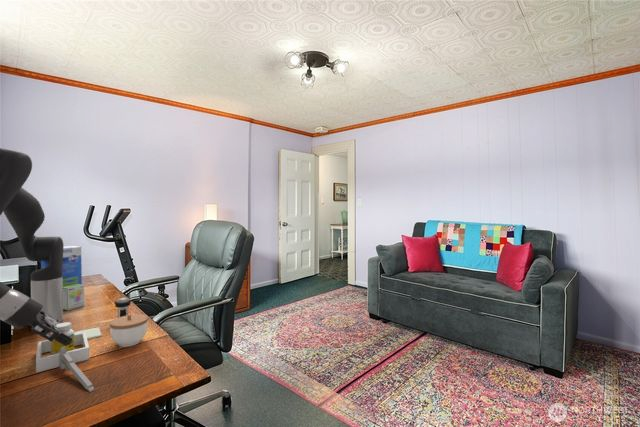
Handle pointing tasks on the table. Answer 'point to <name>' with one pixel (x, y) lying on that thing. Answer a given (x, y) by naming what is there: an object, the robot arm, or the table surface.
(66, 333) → the supplement bottle
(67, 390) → the table surface
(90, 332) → the rubber mat
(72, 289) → the ink box
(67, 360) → the caliper
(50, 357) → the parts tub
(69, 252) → the string lights box
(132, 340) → the lidded jar
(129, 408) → the table surface
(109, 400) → the table surface
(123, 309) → the push button
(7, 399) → the table surface
